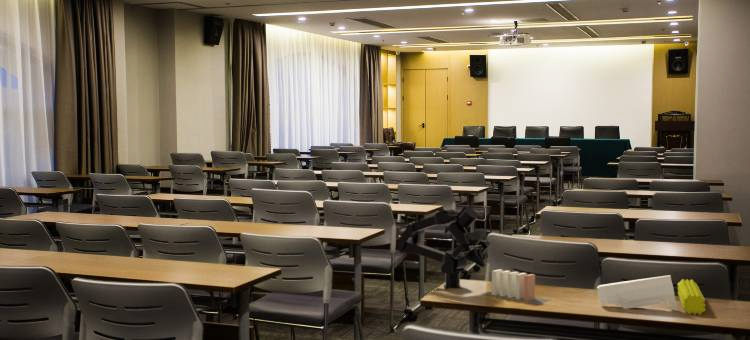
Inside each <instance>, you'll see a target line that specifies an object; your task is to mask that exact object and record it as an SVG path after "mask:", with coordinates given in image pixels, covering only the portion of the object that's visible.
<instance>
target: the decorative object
mask: <svg viewBox="0 0 750 340" xmlns="http://www.w3.org/2000/svg"><path fill="white" fill-rule="evenodd" d="M676 286H677V290H678V291H677V295H678V298H679V300H680V303H681V307H682V309H683V311H685V312H687V314H688V315H694V316H695V315H698V316H700V315H702V313H704V312H706V308H705V307H706V304H705V302H706V299H705V297H704V295H703V293H702V292H701V290H700V288H699V285H698V284H697V283H696V282H695V281H694V279H690V280H689V279H681V280H680V281H679V282H678V283H677V285H676Z"/></svg>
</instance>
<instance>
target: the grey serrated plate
mask: <svg viewBox="0 0 750 340" xmlns="http://www.w3.org/2000/svg"><path fill="white" fill-rule="evenodd" d="M482 295H483V296H490V297H495V298H502V299H507V300H513V301H517V302H525V303H529V304H536V305H541V304H544V303H546V302H550V301H551V299H546V298H540V297H535V299H532V300H528V301H526V300H524V298H522V299H516V297H512V298H509V297H508V295H507V296H500V294H497V295H492V291H489V292H487V293H483V294H482Z"/></svg>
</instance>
